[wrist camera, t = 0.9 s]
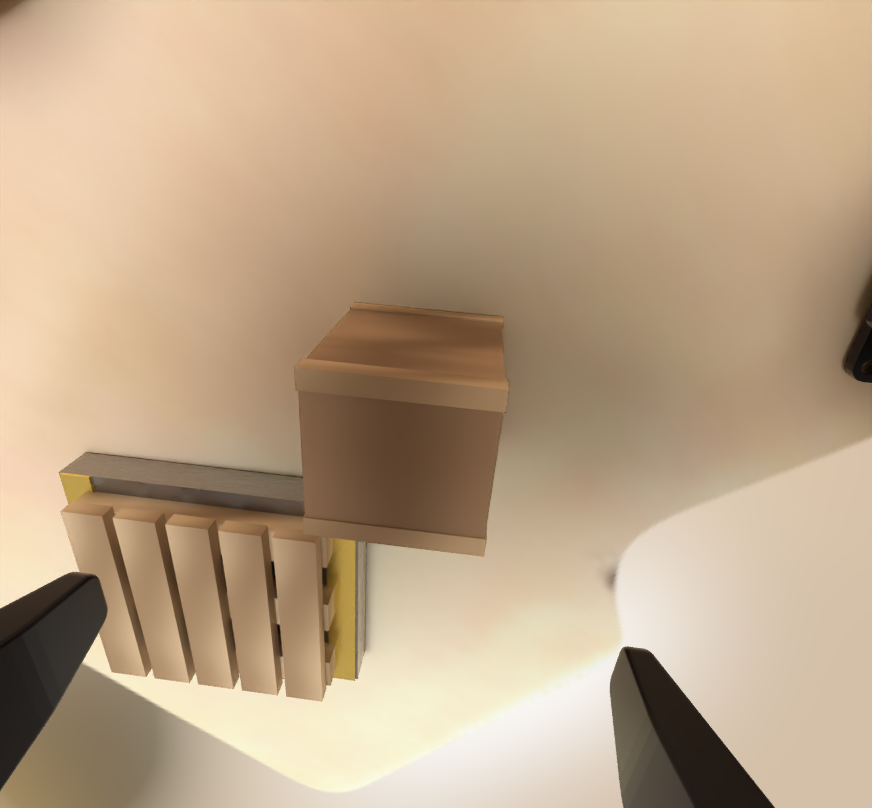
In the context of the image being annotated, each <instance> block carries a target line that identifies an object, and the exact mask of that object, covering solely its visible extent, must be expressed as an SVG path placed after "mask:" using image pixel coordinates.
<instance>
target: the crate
mask: <svg viewBox="0 0 872 808" xmlns="http://www.w3.org/2000/svg"><path fill="white" fill-rule="evenodd" d="M502 327H503V317H500V316H490V315H480V314H469V313H459V312H449V311H439V310H428V309H418V308H408V307H398V306H388V305H377V304H367V303H357V302H354V303H353V304H352V305H351V306H350V311H349V312H348V313H347V314H346V315H345V316H344V317H343V319H342V320H341V321H340V322H339V323H338V324H337V325H336V326H335V327H334V329H333V330H332V331H331V332H330V333H329V334H328V335H327V336H326V337H325V338H324V340H323V341H322V342H321V343H320V344H319V345H318V346H317V347H316V348H315V350H314V351H313V352H312V353H311V354H310V355H309V356H308V357H307V358H306V359H304V358H303V359H302V360H301V361H300V362H299V363H298V364H297V365H296V366H295V367H294V369H295V387H296V390H298V392H299V411H300V430H301V449H302V468H303V487H304V506H305V514H304V516H303V532H304V535H312V536H320V537H328V538H337V539H345V540H353V541H361V542H369V543H377V544H386V545H394V546H402V547H410V548H418V549H426V550H435V551H443V552H451V553H459V554H467V555H475V556H484V553H485V546H486V529H487V519H488V512H489V505H490V499H491V492H492V485H493V478H494V472H495V465H496V458H497V451H498V445H499V438H500V431H501V425H502V418H503V413H506V407H507V400H508V393H509V384H508V380H506V377H505V363H504V350H503V337H502Z"/></svg>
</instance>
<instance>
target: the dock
mask: <svg viewBox="0 0 872 808" xmlns="http://www.w3.org/2000/svg"><path fill="white" fill-rule="evenodd" d="M59 475H60V478H61V481H62V484H63V488H64V491H65V494H66V497H67V501H68V504H70V503H71V502H75V501H76V500H77V499H78V498H79V497H81V496H82V495H83V494H84V493H85V492H88V493H94V492H102V493H110V494H118V495H126V496H135V497H143V498H151V499H160V500H168V501H176V502H184V503H193V504H201V505H209V506H217V507H226V508H234V509H242V510H251V511H259V512H267V513H275V514H284V515H292V516H300V517H303V516H304V514H305V506H304V487H303V478H301V477H292V476H283V475H275V474H266V473H258V472H249V471H241V470H232V469H223V468H215V467H206V466H198V465H189V464H181V463H172V462H163V461H155V460H146V459H138V458H129V457H121V456H112V455H104V454H95V453H84V454H83V455H82V456H80V457H79V458H78V459H76V460H75V461H73V462H72V463H71V464H69V465H68V466H67V467H65V468H64V469H63V470H61V471H60V472H59ZM221 559H222V555H221ZM222 565H223V559H222ZM271 566H272V576H273V579H276V576H275V565H274V561H271ZM223 572H224V566H223ZM322 585H327V587H328V588H334V608H335V614H334V617H333V620H332V623H331V626H330V629H329V631H324V642H329V645H335V653H336V668H335V672H334V675H333V678H339V679H347V680H354V681H355V679H358V675H359V671H360V667H361V663H362V659H363V655H364V651H365V591H366V542H361V541H353V540H345V539H337V538H333V554H332V556H331V559H330V561H329V564H328V566H327V568H323V567H322ZM231 625H232V619H231ZM277 629H278V636H281V631H280V625H279V624H277ZM232 630H233V626H232Z"/></svg>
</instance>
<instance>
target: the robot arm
mask: <svg viewBox="0 0 872 808" xmlns="http://www.w3.org/2000/svg"><path fill="white" fill-rule="evenodd" d="M865 318H866V319H865V321H864V323H863V326H862V328H861V330H860V332H859V334H858V336H857V339H856V341H855V343H854V345H853V347H852V349H851V351H850V354H849V356H848V358H847V360H846V363H845V371H846V373H848V374H849V375H850V376H851V377H853V378H855V379H856V380H858V381H862V382H869V383H872V304H871V306H870V308H869V310H868V312H867V315H866V317H865ZM870 360H871V362H870V365H869V366H868V367H867V368H865V369H863V370H861V367H862V366H863V364H864V363H866V362H867V361H870ZM107 612H108V606H107V603H106V599H105V596H104V593H103V589H102V586H101V583H100V580H99V578H98V577H97V576H96V575H94V574H89V573H81V572H71V573H68V574H66V575H64V576H62V577H60V578H58V579H56V580H54V581H52V582H50V583H48V584H46V585H44V586H43V587H41V588H39V589H37V590H35V591H33V592H31V593H29V594H27V595H25V596H23V597H21V598H20V599H18V600H16V601H14V602H12V603H10V604H8V605H6V606H4V607H2V608H0V791H1V789H2V788H3V786H4V785H5V783H6V782H7V780H8V779H9V777H10V776H11V774H12V773H13V771H14V770H15V769H16V767H17V766H18V764H19V763H20V761H21V760H22V758H23V756H24V755H25V754H26V752H27V751H28V749H29V748H30V746H31V745H32V744H33V742H34V741H35V739H36V738H37V736H38V735H39V733H40V732H41V730H42V729H43V727H44V726H45V724H46V723H47V721H48V720H49V718H50V716H51V715H52V713H53V712H54V710H55V709H56V707H57V705H58V704H59V702H60V700H61V699H62V697H63V695H64V694H65V692H66V690H67V688H68V686H69V685H70V683H71V681H72V679H73V678H74V676H75V674H76V672H77V670H78V669H79V667H80V665H81V663H82V662H83V660H84V658H85V656H86V654H87V653H88V651H89V649H90V647H91V645H92V644H93V642H94V640H95V638H96V637H97V635H98V633H99V631H100V629H101V628H102V626H103V624H104V622H105V620H106V617H107ZM610 697H611V707H612V716H613V726H614V735H615V744H616V752H617V763H618V772H619V780H620V789H621V797H622V803H623V807H624V808H775V807H774V806H773V805H772V803H771V802H770V801H769V800H768V798H767V797H766V796H765V795H764V794H763V792H762V791H761V790H760V788H759V787H758V786H757V785H756V784H755V782H754V781H753V780H752V778H751V777H750V776H749V774H748V773H747V772H746V771H745V769H744V768H743V767H742V766H741V764H740V763H739V762H738V761H737V759H736V758H735V757H734V756H733V754H732V753H731V752H730V751H729V749H728V748H727V747H726V746H725V744H724V743H723V742H722V741H721V739H720V738H719V737H718V736H717V734H716V733H715V732H714V731H713V729H712V728H711V727H710V726H709V724H708V723H707V722H706V720H705V719H704V718H703V717H702V715H701V714H700V713H699V712H698V710H697V709H696V708H695V707H694V705H693V704H692V703H691V702H690V700H689V699H688V698H687V697H686V695H685V694H684V693H683V692H682V690H681V689H680V688H679V686H678V685H677V684H676V683H675V682H674V680H673V679H672V678H671V677H670V675H669V674H668V673H667V671H666V670H665V669H664V668H663V666H662V665H661V664H660V663H659V661H658V660H657V659H656V658H655V656H654V655H653V654H652V653H651V652H650V651H648V650H646V649H642V648H634V647H623V648H622V649H621V651H620V653H619V656H618V659H617V662H616V665H615V668H614V671H613V674H612V676H611V681H610Z"/></svg>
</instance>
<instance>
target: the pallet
mask: <svg viewBox="0 0 872 808" xmlns="http://www.w3.org/2000/svg"><path fill="white" fill-rule="evenodd" d="M60 512H61V515H62V518H63V521H64V524H65V527H66V530H67V534H68V537H69V540H70V543H71V546H72V549H73V552H74V555H75V559H76V562H77V565H78V568H79V571H80V572H81V573H89V574H94V575H96V576H97V577H98V578H99V580H100V583H101V586H102V589H103V593H104V596H105V599H106V603H107V606H108V612H107V617H106V620H105V622H104V624H103V626H102V628H101V629H100V631H99V634H100V637H101V640H102V643H103V646H104V649H105V652H106V656H107V659H108V662H109V665H110V668H111V671H112V672H115V673H122V674H129V675H136V676H143V677H146V676H147V675H148V673H149V672H150V670H151V669H153V673H154V677H155V678H158V679H165V680H172V681H179V682H186V683H190V681H191V680H192V678H193V676H194V674H195V673H196V675H197V680H198V684H201V685H208V686H215V687H222V688H229V689H234V687H235V685H236V683H237V680H238V678H239V673H240V679H241V686H242V690H244V691H251V692H258V693H265V694H272V695H278V693H279V690H280V688H281V685H282V683H283V682H282V679H285V686H286V696H287V697H294V698H301V699H308V700H315V701H322V700H323V697H324V694H325V691H326V685H331V682H332V678H333V675H334V672H335V668H336V653H335V645H329V642H324V631H329V629H330V626H331V623H332V620H333V617H334V614H335V608H334V588H328V587H327V585H322V567H323V568H327V566H328V564H329V561H330V559H331V556H332V554H333V538H328V537H320V536H312V535H304V532H303V517H300V516H292V515H284V514H275V513H267V512H259V511H251V510H242V509H234V508H226V507H217V506H209V505H201V504H193V503H184V502H176V501H168V500H160V499H151V498H143V497H135V496H126V495H118V494H110V493H102V492H94V493H88V492H85V493H84V494H83V495H82V496H81V497H79V498H78V499H77V500H76V501H75V502H71V503H70V504H69V505H68V506H66V507H65V508H64V509H63V510H62V511H60ZM221 555H222V559H223V565H222V559H221ZM271 561H274V565H275V576H276V579H273V576H272V566H271ZM223 566H224V572H223ZM231 619H232V625H231ZM277 624H279V625H280V631H281V636H278V629H277ZM232 626H233V630H232Z"/></svg>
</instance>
